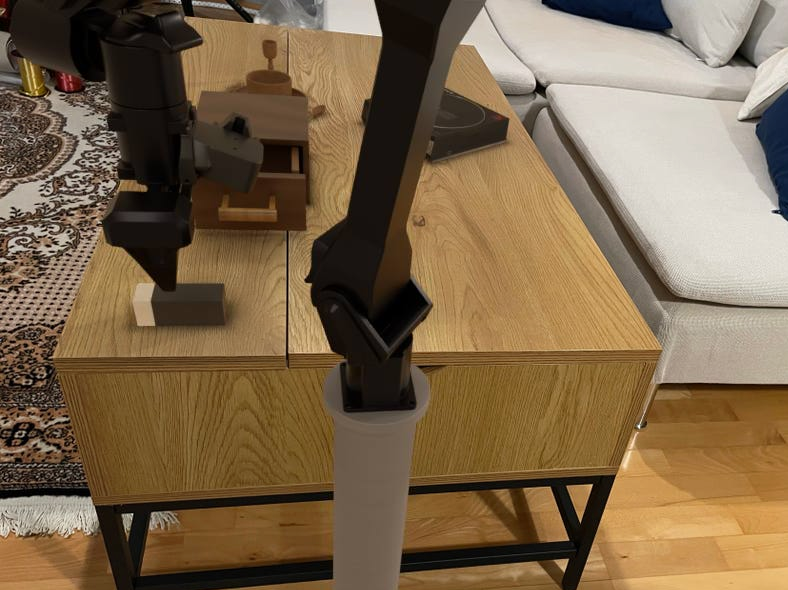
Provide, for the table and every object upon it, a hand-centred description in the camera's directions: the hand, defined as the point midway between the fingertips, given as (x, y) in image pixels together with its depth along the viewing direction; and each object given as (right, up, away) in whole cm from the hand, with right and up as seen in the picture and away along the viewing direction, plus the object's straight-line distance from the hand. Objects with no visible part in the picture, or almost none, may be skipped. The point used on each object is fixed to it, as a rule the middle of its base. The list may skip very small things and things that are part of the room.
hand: (175, 263), depth 66 cm
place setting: (-4, +34, +51) cm, 61 cm away
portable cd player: (+21, +28, +49) cm, 60 cm away
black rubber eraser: (-1, -5, +4) cm, 6 cm away
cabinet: (-1, +16, +29) cm, 33 cm away
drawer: (+1, +9, +20) cm, 22 cm away
